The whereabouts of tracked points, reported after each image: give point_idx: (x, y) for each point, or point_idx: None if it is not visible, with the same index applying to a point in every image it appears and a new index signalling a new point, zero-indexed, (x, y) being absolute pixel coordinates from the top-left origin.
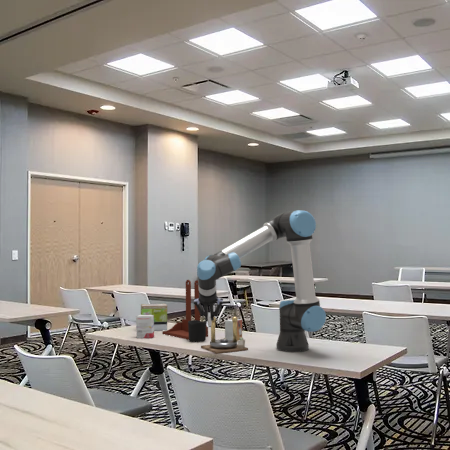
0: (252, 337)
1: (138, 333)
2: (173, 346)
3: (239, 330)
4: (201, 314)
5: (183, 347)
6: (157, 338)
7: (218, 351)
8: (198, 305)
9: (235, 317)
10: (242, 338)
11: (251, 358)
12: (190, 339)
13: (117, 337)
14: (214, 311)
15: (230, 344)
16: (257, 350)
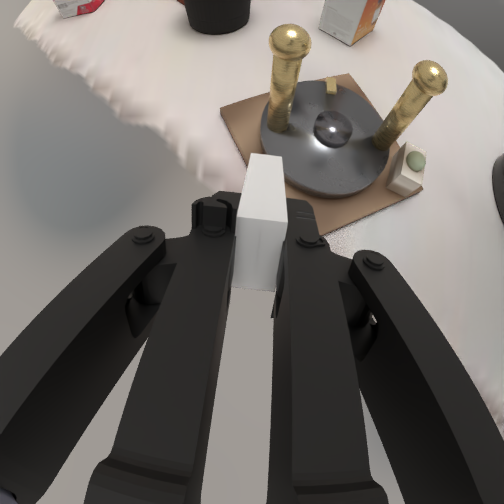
0: (396, 20)
1: (62, 10)
2: (119, 90)
3: (375, 12)
4: (140, 312)
5: (150, 103)
6: (107, 9)
7: None
8: (36, 495)
9: (442, 78)
10: (423, 165)
11: None
12: (192, 24)
13: (32, 25)
14: (345, 283)
15: (363, 187)
16: (448, 200)
